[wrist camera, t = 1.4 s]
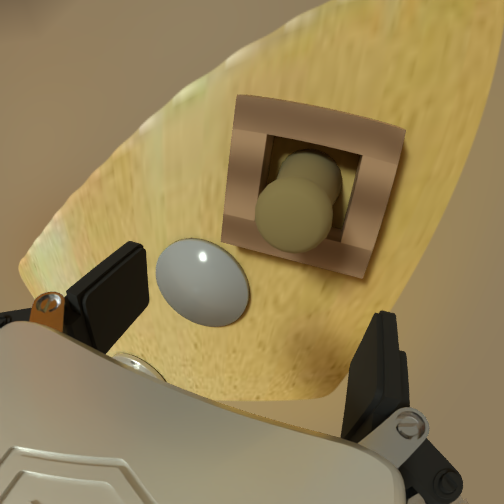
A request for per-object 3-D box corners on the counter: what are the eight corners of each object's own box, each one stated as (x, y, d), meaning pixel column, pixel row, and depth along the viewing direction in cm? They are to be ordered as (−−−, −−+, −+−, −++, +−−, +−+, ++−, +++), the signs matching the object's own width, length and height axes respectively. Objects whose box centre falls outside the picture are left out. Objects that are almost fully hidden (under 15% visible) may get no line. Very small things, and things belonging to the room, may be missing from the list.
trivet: (243, 333, 40) (241, 337, 39) (160, 306, 42) (157, 309, 42) (256, 253, 34) (253, 256, 33) (158, 227, 36) (154, 230, 36)
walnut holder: (362, 263, 31) (362, 278, 28) (231, 229, 34) (220, 241, 31) (400, 127, 24) (406, 130, 21) (247, 94, 27) (236, 94, 24)
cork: (343, 210, 29) (339, 268, 20) (281, 211, 31) (249, 266, 22) (340, 147, 27) (335, 174, 17) (274, 150, 28) (235, 179, 19)
